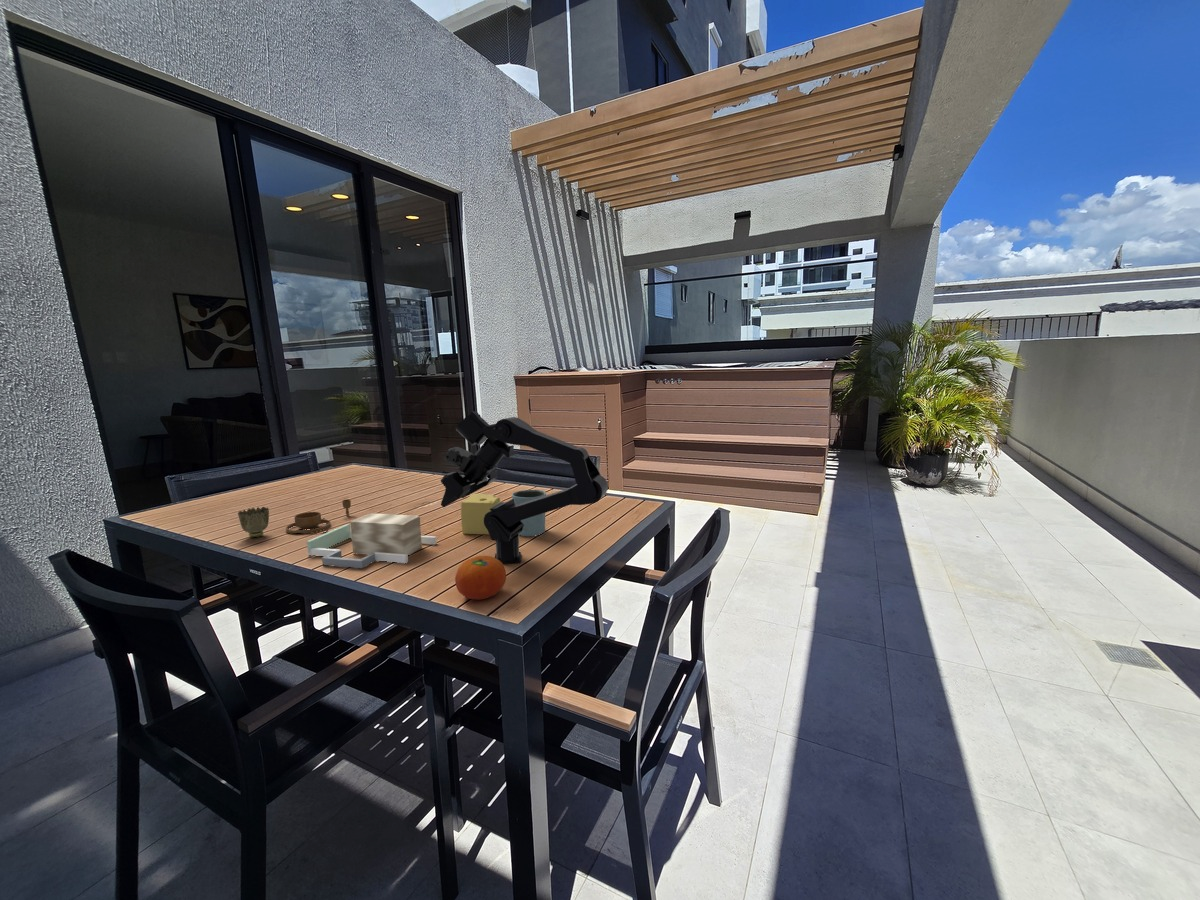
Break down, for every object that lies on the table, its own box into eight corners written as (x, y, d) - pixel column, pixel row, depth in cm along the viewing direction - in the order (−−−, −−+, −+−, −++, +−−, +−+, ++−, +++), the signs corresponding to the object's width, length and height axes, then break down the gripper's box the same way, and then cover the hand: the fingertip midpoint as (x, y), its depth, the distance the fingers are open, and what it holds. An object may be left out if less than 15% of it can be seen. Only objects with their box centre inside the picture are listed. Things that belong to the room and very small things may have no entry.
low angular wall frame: (445, 537, 141) (444, 524, 141) (393, 571, 117) (392, 555, 116) (359, 531, 146) (358, 519, 146) (292, 563, 122) (291, 547, 122)
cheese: (505, 524, 154) (504, 493, 152) (494, 535, 143) (493, 502, 141) (473, 523, 155) (471, 493, 153) (460, 534, 144) (458, 501, 142)
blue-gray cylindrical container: (532, 540, 139) (531, 499, 137) (505, 534, 144) (504, 494, 143) (553, 530, 148) (553, 491, 146) (527, 525, 153) (527, 487, 151)
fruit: (467, 583, 110) (466, 549, 109) (512, 585, 109) (511, 551, 108) (448, 605, 100) (446, 568, 98) (497, 608, 98) (495, 570, 97)
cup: (239, 536, 143) (236, 509, 142) (269, 530, 148) (266, 505, 146) (242, 542, 137) (239, 515, 136) (273, 536, 142) (270, 510, 141)
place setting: (281, 527, 153) (279, 508, 152) (350, 515, 166) (349, 498, 165) (291, 541, 140) (289, 521, 139) (365, 527, 153) (364, 509, 152)
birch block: (421, 547, 133) (419, 515, 132) (405, 558, 126) (402, 524, 124) (372, 544, 136) (370, 513, 135) (353, 554, 128) (350, 521, 127)
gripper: (481, 432, 131) (449, 473, 136) (443, 441, 113) (408, 488, 118) (511, 460, 130) (477, 500, 135) (477, 473, 113) (440, 519, 117)
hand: (452, 501), depth 126 cm, fingers open, 9 cm apart
